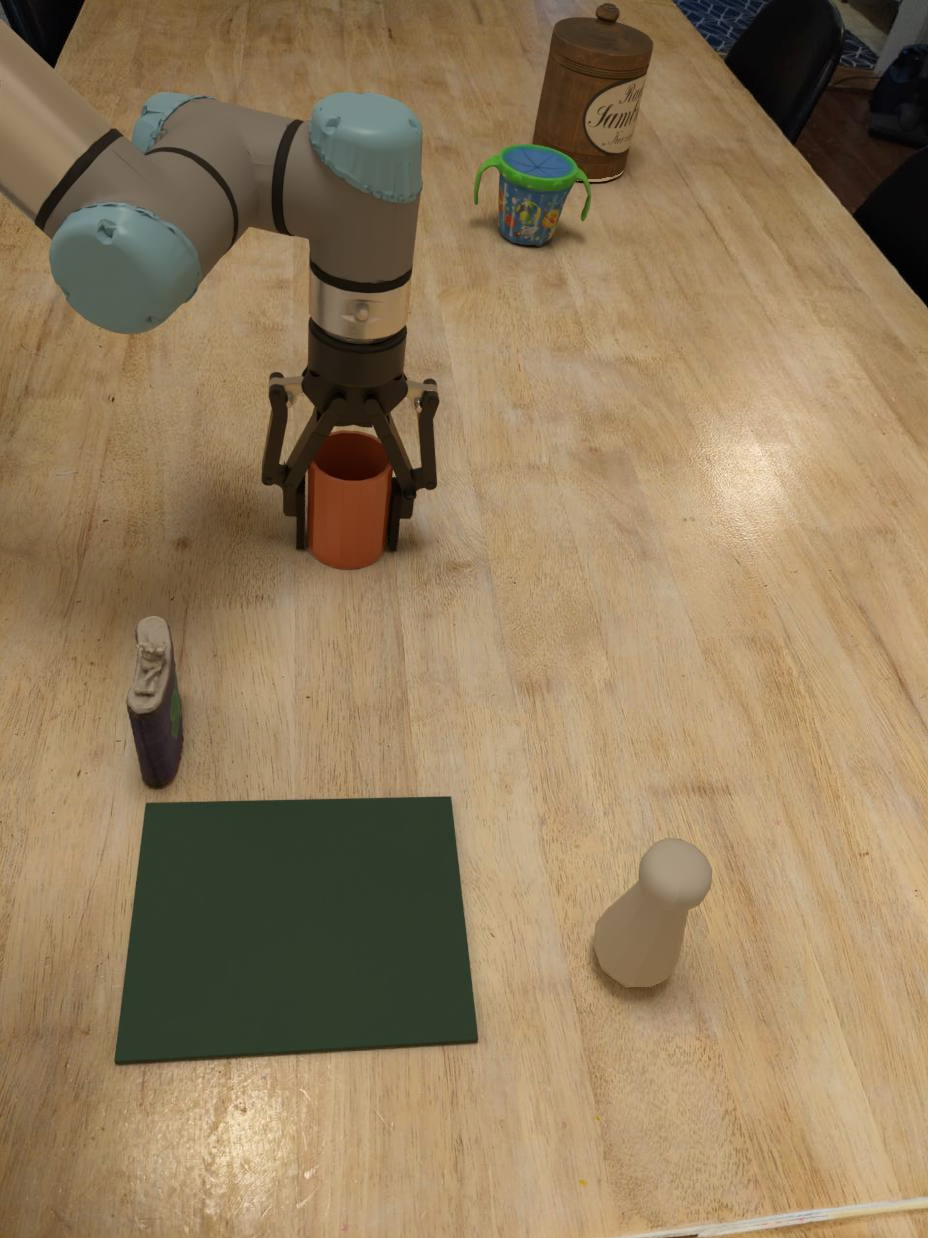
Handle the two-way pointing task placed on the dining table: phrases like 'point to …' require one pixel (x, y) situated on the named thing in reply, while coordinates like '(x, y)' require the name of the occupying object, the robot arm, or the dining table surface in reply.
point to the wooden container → (593, 91)
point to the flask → (156, 704)
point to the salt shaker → (652, 915)
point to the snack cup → (532, 191)
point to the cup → (348, 500)
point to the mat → (295, 930)
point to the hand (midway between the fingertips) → (346, 539)
